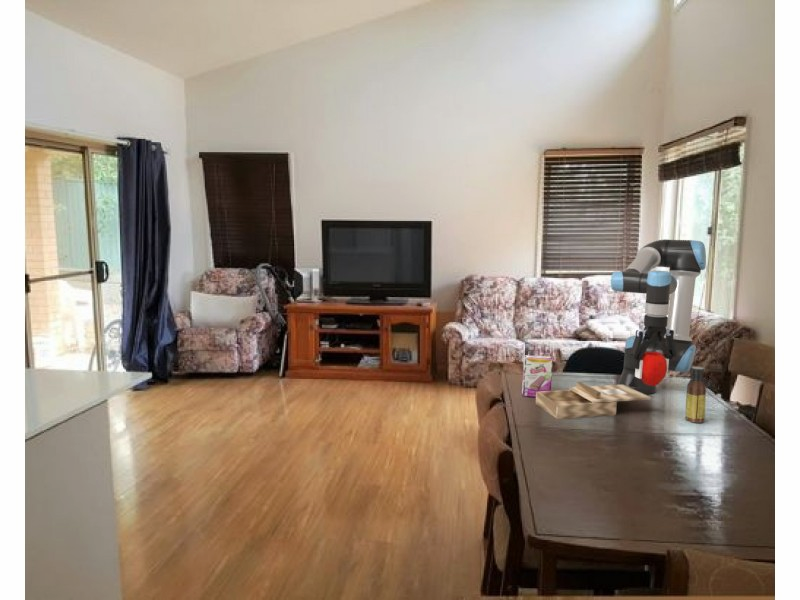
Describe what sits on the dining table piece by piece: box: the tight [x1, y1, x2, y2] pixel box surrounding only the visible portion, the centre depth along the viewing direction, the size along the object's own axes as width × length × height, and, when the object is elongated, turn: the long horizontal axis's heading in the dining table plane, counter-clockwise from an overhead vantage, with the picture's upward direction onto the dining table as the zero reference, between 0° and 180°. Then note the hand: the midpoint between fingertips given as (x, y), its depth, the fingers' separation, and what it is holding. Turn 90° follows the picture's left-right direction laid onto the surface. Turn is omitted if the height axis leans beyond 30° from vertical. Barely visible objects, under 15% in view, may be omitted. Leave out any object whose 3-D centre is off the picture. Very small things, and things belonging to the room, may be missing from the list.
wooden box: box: [535, 389, 618, 420], centre depth 218 cm, size 24×17×5 cm
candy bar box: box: [521, 354, 554, 398], centre depth 233 cm, size 11×5×16 cm, turn 84°
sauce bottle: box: [684, 365, 707, 424], centre depth 207 cm, size 6×6×20 cm
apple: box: [641, 351, 667, 386], centre depth 204 cm, size 10×10×12 cm
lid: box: [568, 381, 651, 403], centre depth 221 cm, size 24×17×3 cm
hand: (651, 376), depth 204 cm, fingers closed on apple, 10 cm apart
